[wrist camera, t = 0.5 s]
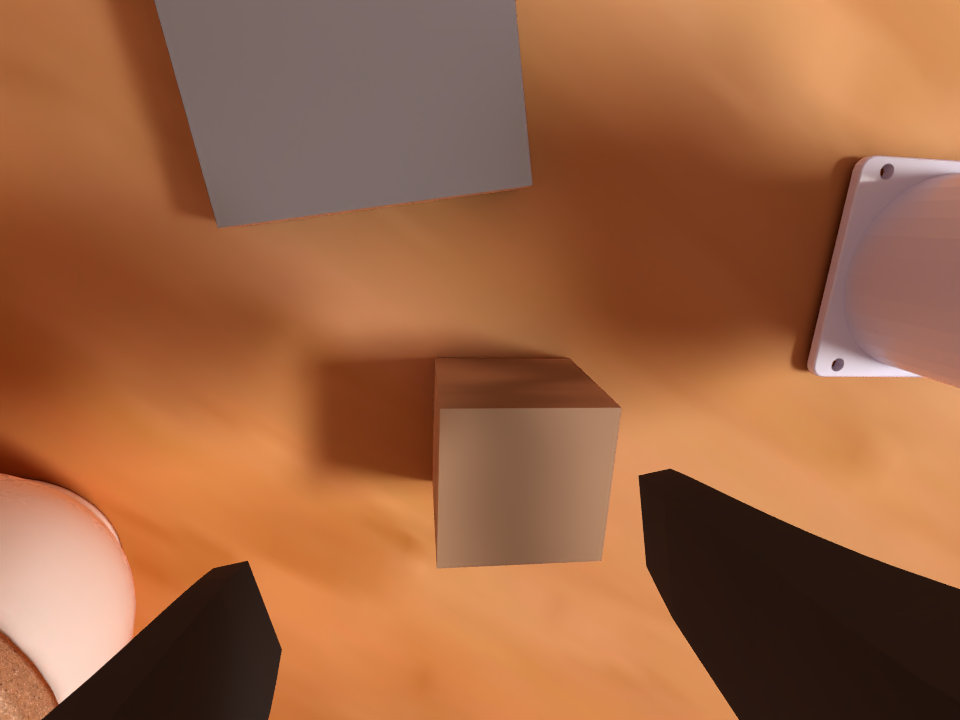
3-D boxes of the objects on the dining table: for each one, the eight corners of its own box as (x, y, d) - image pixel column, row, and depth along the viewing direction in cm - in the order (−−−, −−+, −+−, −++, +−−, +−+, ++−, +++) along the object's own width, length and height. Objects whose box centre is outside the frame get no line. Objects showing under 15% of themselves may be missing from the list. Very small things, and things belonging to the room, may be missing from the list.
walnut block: (568, 357, 18) (621, 407, 14) (557, 477, 20) (601, 560, 15) (434, 356, 18) (439, 408, 13) (432, 480, 19) (436, 568, 14)
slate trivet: (482, -138, 14) (495, -210, 12) (516, 190, 17) (532, 185, 14) (159, -111, 13) (103, -182, 11) (247, 226, 16) (217, 228, 14)
